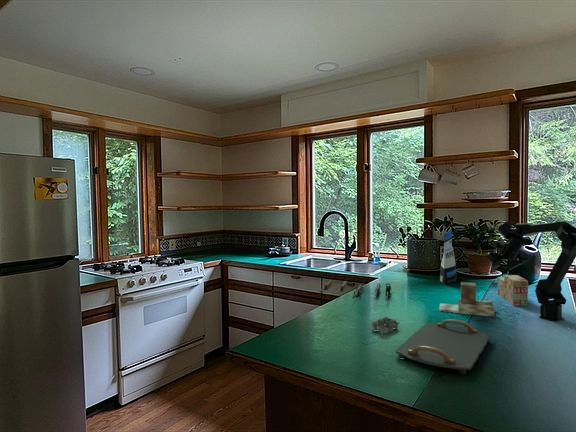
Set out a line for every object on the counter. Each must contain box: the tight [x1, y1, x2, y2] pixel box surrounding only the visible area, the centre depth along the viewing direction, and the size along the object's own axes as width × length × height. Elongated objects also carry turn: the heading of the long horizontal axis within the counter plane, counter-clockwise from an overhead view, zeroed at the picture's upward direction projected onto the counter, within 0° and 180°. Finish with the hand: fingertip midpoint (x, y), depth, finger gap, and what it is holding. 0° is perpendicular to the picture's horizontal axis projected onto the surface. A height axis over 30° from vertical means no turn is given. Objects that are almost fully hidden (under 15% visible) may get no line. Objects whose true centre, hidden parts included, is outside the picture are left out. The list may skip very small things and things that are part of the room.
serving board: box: [394, 318, 492, 376], centre depth 127 cm, size 39×23×6 cm, turn 142°
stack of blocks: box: [496, 274, 529, 307], centre depth 184 cm, size 21×6×12 cm, turn 168°
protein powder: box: [439, 230, 458, 285], centre depth 229 cm, size 10×24×30 cm, turn 147°
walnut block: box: [460, 281, 477, 305], centre depth 168 cm, size 6×6×11 cm
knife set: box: [318, 279, 392, 300], centre depth 198 cm, size 35×33×8 cm
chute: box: [438, 298, 496, 317], centre depth 168 cm, size 22×10×4 cm, turn 66°
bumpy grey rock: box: [370, 316, 401, 333], centre depth 147 cm, size 11×8×4 cm
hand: (500, 270), depth 183 cm, fingers open, 9 cm apart
